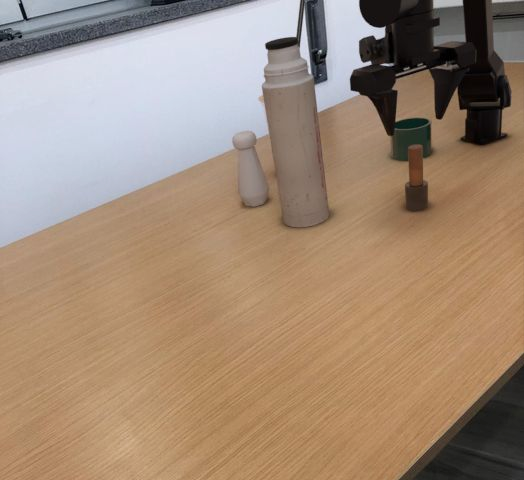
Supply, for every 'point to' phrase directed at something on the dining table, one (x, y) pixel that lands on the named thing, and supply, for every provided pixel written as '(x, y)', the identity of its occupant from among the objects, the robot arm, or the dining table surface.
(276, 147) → the thermos bottle
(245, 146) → the salt shaker
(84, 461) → the dining table surface
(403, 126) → the enamel cup
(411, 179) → the wooden peg on base
